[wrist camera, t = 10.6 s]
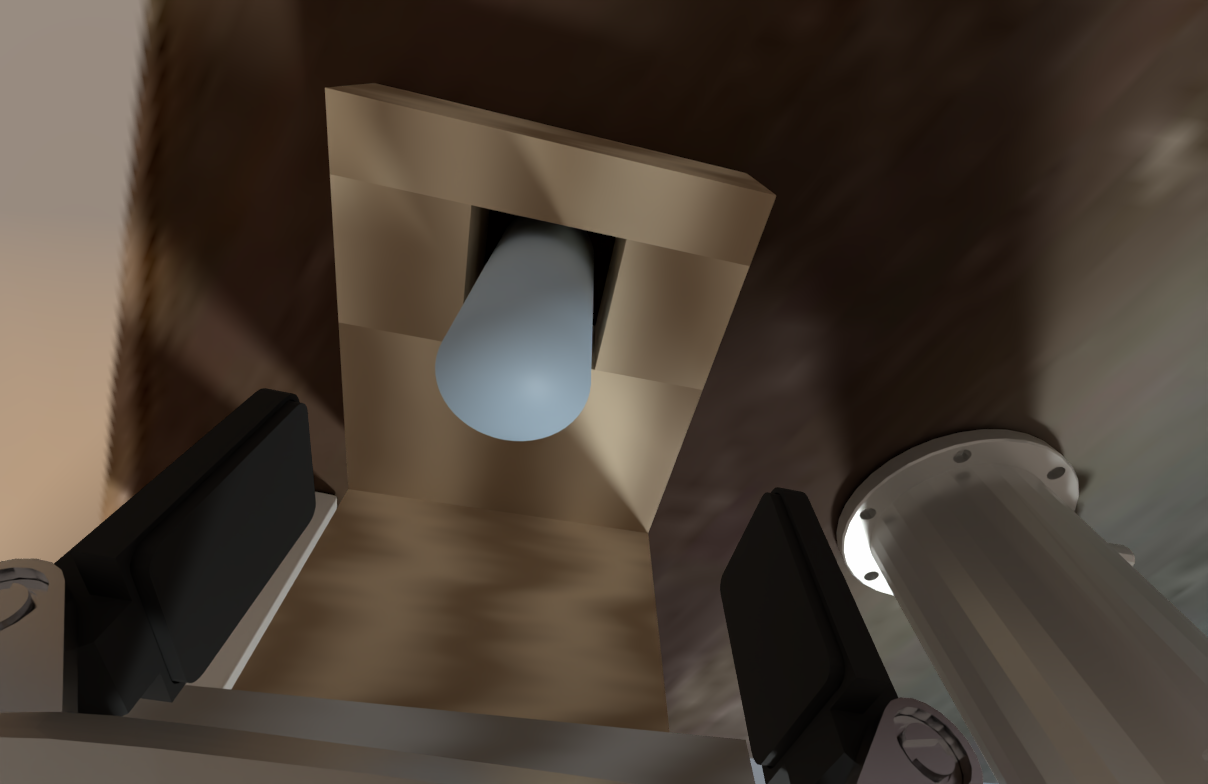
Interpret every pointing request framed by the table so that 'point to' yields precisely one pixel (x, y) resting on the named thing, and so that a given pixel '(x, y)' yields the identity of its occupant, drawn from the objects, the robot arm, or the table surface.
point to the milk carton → (266, 603)
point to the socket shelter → (499, 460)
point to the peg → (523, 335)
